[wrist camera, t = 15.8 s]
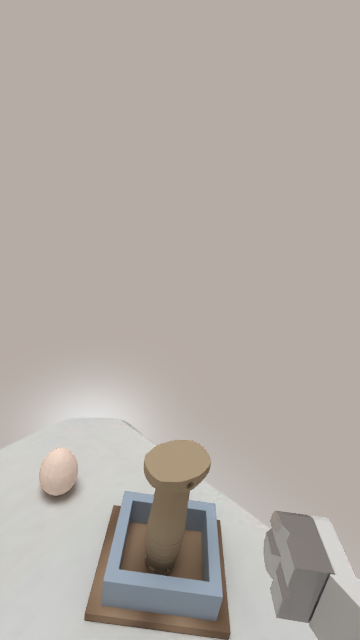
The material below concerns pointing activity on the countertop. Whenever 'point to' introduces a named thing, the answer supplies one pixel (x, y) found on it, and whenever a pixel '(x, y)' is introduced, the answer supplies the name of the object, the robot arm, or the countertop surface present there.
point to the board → (134, 560)
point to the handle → (171, 498)
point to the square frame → (159, 589)
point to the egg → (58, 471)
